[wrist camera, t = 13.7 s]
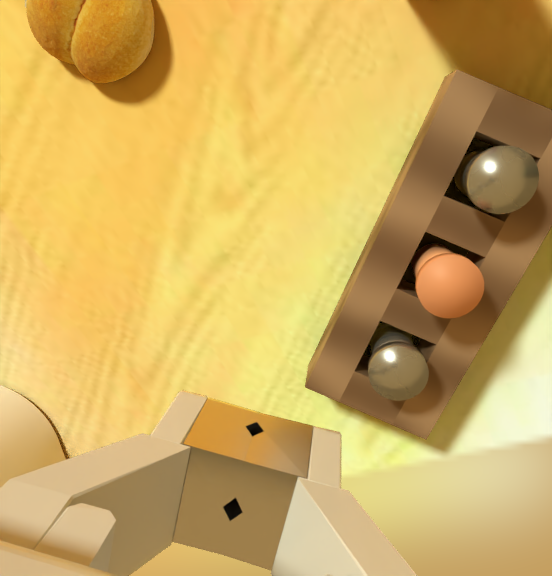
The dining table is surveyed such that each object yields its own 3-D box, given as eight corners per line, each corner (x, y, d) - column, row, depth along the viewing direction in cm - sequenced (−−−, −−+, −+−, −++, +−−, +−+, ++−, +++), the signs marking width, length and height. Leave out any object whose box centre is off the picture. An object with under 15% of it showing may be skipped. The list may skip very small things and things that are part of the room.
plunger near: (489, 211, 37) (516, 224, 31) (438, 189, 37) (456, 198, 31) (517, 158, 36) (552, 161, 30) (465, 135, 36) (489, 135, 30)
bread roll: (129, 103, 39) (106, 99, 35) (28, 35, 38) (-7, 24, 35) (181, -2, 36) (162, -18, 33) (74, -74, 36) (42, -100, 32)
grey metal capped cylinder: (402, 371, 41) (412, 409, 35) (356, 351, 41) (358, 386, 35) (425, 328, 40) (439, 361, 34) (378, 308, 40) (384, 337, 34)
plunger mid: (446, 299, 38) (464, 328, 32) (396, 277, 38) (406, 303, 32) (472, 251, 37) (496, 272, 31) (421, 229, 37) (435, 246, 31)
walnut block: (418, 412, 43) (426, 439, 39) (308, 365, 43) (304, 387, 39) (578, 133, 35) (606, 132, 31) (445, 77, 35) (457, 69, 32)
